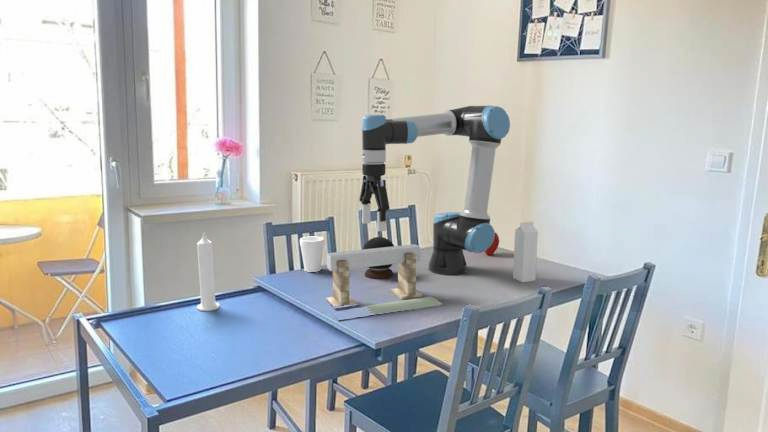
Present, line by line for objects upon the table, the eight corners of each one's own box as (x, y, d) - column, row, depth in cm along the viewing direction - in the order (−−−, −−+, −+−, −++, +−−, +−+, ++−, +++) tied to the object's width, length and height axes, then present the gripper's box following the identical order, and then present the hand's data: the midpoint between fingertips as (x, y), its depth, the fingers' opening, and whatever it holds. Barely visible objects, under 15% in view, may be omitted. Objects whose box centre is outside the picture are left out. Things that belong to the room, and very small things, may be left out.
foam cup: (320, 274, 222) (319, 242, 220) (297, 273, 224) (296, 241, 222) (327, 268, 231) (326, 236, 229) (305, 266, 233) (304, 235, 231)
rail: (414, 258, 200) (414, 244, 199) (419, 260, 197) (420, 246, 196) (327, 268, 188) (326, 253, 187) (330, 271, 184) (330, 256, 183)
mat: (431, 297, 195) (431, 296, 195) (442, 305, 188) (442, 303, 188) (330, 312, 181) (330, 311, 181) (338, 321, 174) (338, 319, 174)
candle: (199, 304, 189) (195, 230, 184) (221, 303, 190) (217, 229, 185) (194, 311, 182) (189, 235, 177) (217, 311, 183) (212, 234, 178)
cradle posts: (411, 288, 205) (411, 248, 202) (422, 296, 197) (423, 254, 194) (325, 300, 192) (324, 257, 190) (333, 309, 184) (333, 264, 181)
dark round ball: (367, 281, 213) (367, 242, 211) (358, 272, 226) (357, 234, 223) (401, 278, 218) (401, 239, 215) (389, 269, 230) (389, 232, 227)
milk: (535, 280, 214) (539, 223, 210) (522, 282, 212) (525, 224, 208) (525, 276, 220) (528, 220, 215) (512, 278, 217) (515, 221, 213)
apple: (476, 252, 255) (477, 229, 253) (495, 252, 256) (496, 228, 254) (482, 257, 247) (482, 233, 245) (501, 257, 248) (502, 232, 246)
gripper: (350, 160, 196) (350, 221, 200) (377, 166, 173) (377, 235, 177) (370, 159, 199) (370, 219, 202) (400, 166, 176) (399, 233, 180)
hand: (373, 227), depth 190 cm, fingers open, 13 cm apart
